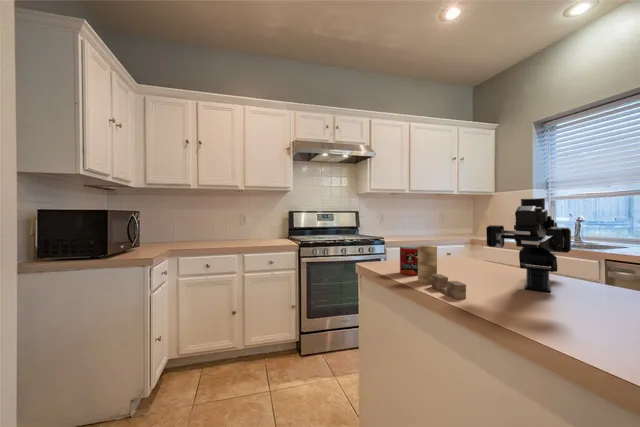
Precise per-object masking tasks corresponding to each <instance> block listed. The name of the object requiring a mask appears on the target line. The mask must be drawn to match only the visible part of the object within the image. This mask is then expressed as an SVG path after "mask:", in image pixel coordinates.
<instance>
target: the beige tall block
mask: <svg viewBox="0 0 640 427" xmlns="http://www.w3.org/2000/svg"><path fill="white" fill-rule="evenodd" d="M417 246H418V275H417V282H418V283H424V284H426V283H427V284H432V274H438V246H437V245H419V244H417Z"/></svg>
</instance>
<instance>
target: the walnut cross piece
mask: <svg viewBox="0 0 640 427" xmlns="http://www.w3.org/2000/svg"><path fill="white" fill-rule="evenodd" d="M431 288H434V289H436V291H439V292H441V293H443V294H445V295H447V296H449V297H451V298H453V299H455V300H466V299H467V284H465V283H462V282H461V281H459V280H449V276H445V275H443V274H441V273H440V274H439V273H437V274H432V283H431Z"/></svg>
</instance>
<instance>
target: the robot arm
mask: <svg viewBox="0 0 640 427" xmlns="http://www.w3.org/2000/svg"><path fill="white" fill-rule="evenodd" d="M545 204H546V198H545V197H541V198H540V197H537V198H536V197H535V198H521V199H520V206H518V207H517V208H516V209H515V212H514V216H515V224H514V225H513V230H505V227H504V225H496V224H495V225H493V224H492V225H491V224H490V225H487V226H486V246H488V247H489V248H498V249H499V248H501V249H502V248H504V246H505V240H506V239H507V240H514V241H515V245H516V247H517V248H519V247H521V248H520V250H519V252H518V254H519V255H518V256H519V257H518V259H519V268H520V269H526V274H525V275H526V278H525V279H526V280H525V282H526V283H525V284H524V289H525V290H530V291H539V292H547V293H552V287H551V286H550V272H551V273H554V272H555V273H557V272H558V259H557V256H556V254H555V253H563V254H564V253H566V254H567V253H569V252H570V251H571V250H572V230H571V229H570V228H569V227H567V226H565V227H564V226H563V227H562V226H559V227H558V222H555V220H554V219H552V216H551V215H548V214H549V212H548V211H549V210H547V209H546V205H545Z"/></svg>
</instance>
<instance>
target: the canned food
mask: <svg viewBox="0 0 640 427" xmlns="http://www.w3.org/2000/svg"><path fill="white" fill-rule="evenodd" d="M399 272H400V274H401V275H403V276H408V277H409V276H410V277H412V276H413V277H414V276H415V277H416V276H417V277H418V244H417V245H416V244H402V245H401V244H400V245H399Z"/></svg>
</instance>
